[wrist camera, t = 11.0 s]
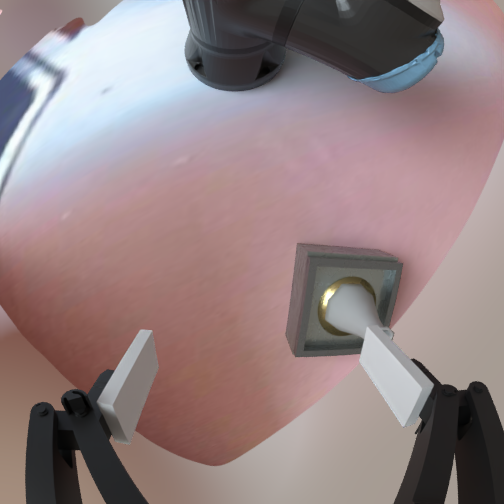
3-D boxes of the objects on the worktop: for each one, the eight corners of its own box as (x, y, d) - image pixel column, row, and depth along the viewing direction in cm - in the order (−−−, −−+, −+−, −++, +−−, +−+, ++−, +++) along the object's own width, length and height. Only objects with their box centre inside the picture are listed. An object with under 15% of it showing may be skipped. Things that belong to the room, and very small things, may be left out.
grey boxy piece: (296, 243, 40) (310, 253, 32) (378, 249, 41) (403, 260, 33) (285, 334, 42) (294, 359, 35) (361, 333, 44) (380, 354, 36)
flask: (379, 290, 35) (418, 318, 26) (356, 334, 36) (387, 371, 27) (338, 274, 34) (373, 302, 25) (315, 322, 36) (340, 362, 26)
